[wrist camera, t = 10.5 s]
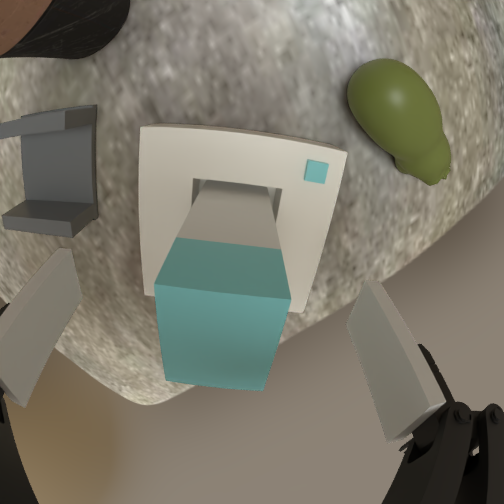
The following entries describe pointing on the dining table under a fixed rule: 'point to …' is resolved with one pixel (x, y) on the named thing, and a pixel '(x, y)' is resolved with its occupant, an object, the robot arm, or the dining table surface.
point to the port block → (239, 171)
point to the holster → (55, 171)
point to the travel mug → (58, 27)
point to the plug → (223, 290)
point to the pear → (401, 117)
